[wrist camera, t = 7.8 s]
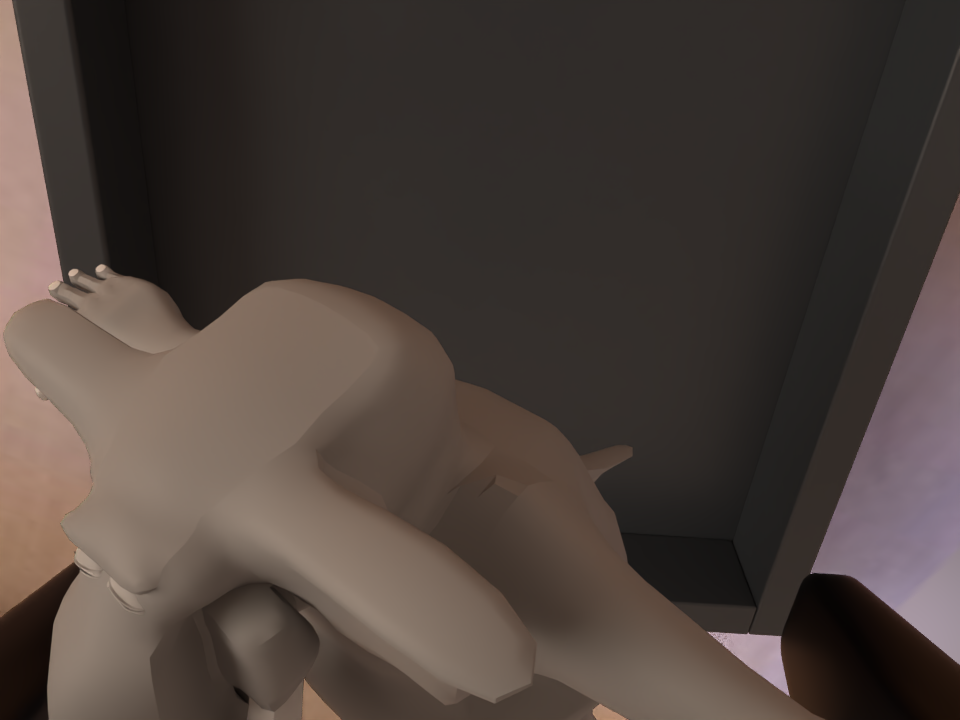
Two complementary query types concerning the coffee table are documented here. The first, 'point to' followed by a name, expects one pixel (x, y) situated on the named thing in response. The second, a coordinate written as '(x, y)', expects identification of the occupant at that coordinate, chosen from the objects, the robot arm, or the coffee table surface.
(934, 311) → the coffee table surface
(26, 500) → the coffee table surface
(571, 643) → the elephant figurine
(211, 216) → the tray
